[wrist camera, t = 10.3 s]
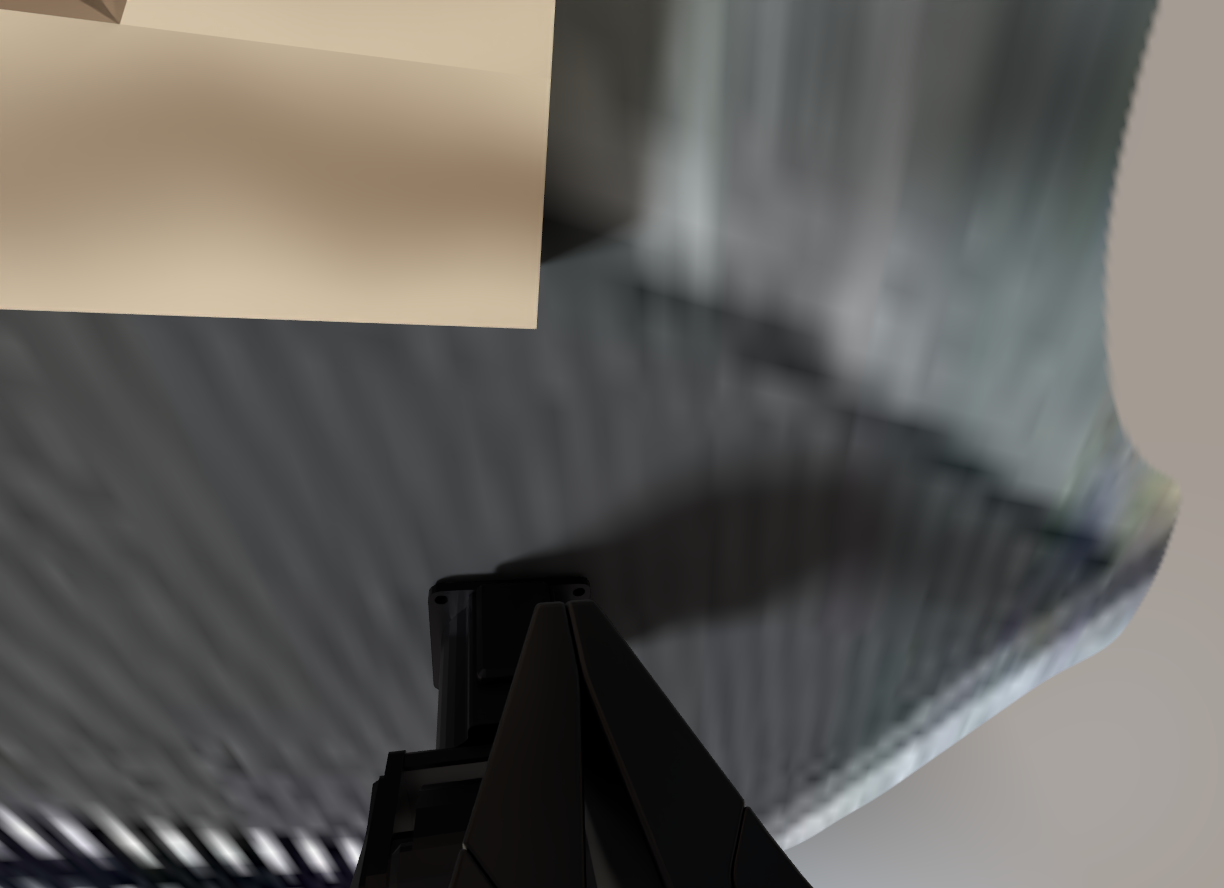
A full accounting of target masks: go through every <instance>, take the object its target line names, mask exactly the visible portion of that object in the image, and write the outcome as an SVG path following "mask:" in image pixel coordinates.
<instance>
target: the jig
mask: <svg viewBox="0 0 1224 888" xmlns="http://www.w3.org/2000/svg"><path fill="white" fill-rule="evenodd" d="M554 15H555V0H0V309H12V310H39V311H66V312H93V313H120V314H147V315H174V316H201V317H228V318H255V319H282V320H309V321H336V322H363V323H390V324H417V325H444V326H471V327H498V328H525V329H536V326H537V309H538V291H539V274H540V257H541V240H542V222H543V205H544V188H545V171H546V153H547V136H548V119H549V102H550V84H551V67H552V50H553V33H554Z"/></svg>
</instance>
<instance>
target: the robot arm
mask: <svg viewBox="0 0 1224 888" xmlns="http://www.w3.org/2000/svg"><path fill="white" fill-rule="evenodd" d="M576 588H579V589H576ZM590 593H591V589H590V584H589V581H588V579H587V578H585V577H579V576H578V577H558V578H539V579H520V580H500V581H481V582H462V583H442V584H436V585H434V586H432V587H431V588H430V590H429V596H428V606H429V621H430V636H431V651H432V666H433V681H434V686H435V688H437V689H439V696H438V717H437V738H436V750H427V751H418V752H410V753H406V750H402V751H394V752H389V754H388V759H387V764H386V770H385V775H384V776H380V778H379V780H378V781H376V782H375V783H373V787H372V795H371V803H370V811H369V818H368V825H367V831H366V836H365V840H364V844H363V847H362V851H361V854H360V857H359V860H358V864H357V867H356V870H355V873H354V877H353V880H352V883H351V886H350V888H813V887H812V886H811V885H810V884H809V882H808V881H807V880H806V879H805V878H804V877H803V876H802V874H801V873H800V872H799V871H798V869H797V868H796V867H795V865H794V864H793V863H792V862H791V860H790V859H789V858H788V857H787V855H786V854H785V853H784V851H783V850H782V849H781V848H780V846H779V845H778V844H777V843H776V841H775V840H774V839H773V837H772V836H771V835H770V834H769V832H768V831H767V830H766V828H765V827H764V826H763V824H762V823H761V821H760V820H759V819H758V817H757V816H756V815H755V813H754V812H753V811H752V809H751V808H750V807H745V801H744V799H743V798H742V796H741V795H740V794H739V792H738V791H737V790H736V788H735V787H734V786H733V784H732V783H731V782H730V780H729V779H728V778H727V776H726V775H725V774H724V772H723V771H722V770H721V768H720V767H719V766H718V764H717V763H716V762H715V760H714V759H713V758H712V756H711V755H710V754H709V752H708V751H707V750H706V748H705V747H704V746H703V744H702V743H701V742H700V740H699V739H698V738H697V736H696V735H695V734H694V732H693V731H692V730H691V728H690V727H689V726H688V724H687V723H686V722H685V720H684V719H683V718H682V716H681V715H680V714H679V712H678V711H677V710H676V708H675V707H674V706H673V704H672V703H671V702H670V700H669V699H668V698H667V696H666V695H665V694H664V692H663V691H662V690H661V688H660V687H659V686H658V684H657V683H656V682H655V680H654V679H653V678H652V676H651V675H650V674H649V672H648V671H647V670H646V668H645V667H644V666H643V664H642V663H641V662H640V660H639V659H638V658H637V656H636V655H635V654H634V652H633V651H632V650H631V648H630V647H629V646H628V644H627V643H626V642H625V640H624V639H623V637H622V636H621V635H620V633H619V632H618V631H617V629H616V628H615V627H614V625H613V624H612V623H611V621H610V620H609V619H608V617H607V616H606V615H605V613H604V612H603V611H602V609H601V608H600V607H599V605H598V604H597V603H596V602H595V601H593V600H590ZM441 596H442V597H441ZM744 807H745V808H744Z"/></svg>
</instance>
